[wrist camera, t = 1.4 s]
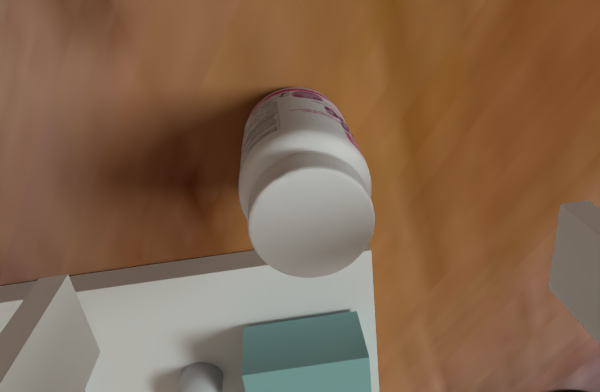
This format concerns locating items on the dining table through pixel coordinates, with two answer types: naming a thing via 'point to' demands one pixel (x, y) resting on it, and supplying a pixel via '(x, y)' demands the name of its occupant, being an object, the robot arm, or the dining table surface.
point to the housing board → (200, 317)
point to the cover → (307, 356)
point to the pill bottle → (304, 185)
